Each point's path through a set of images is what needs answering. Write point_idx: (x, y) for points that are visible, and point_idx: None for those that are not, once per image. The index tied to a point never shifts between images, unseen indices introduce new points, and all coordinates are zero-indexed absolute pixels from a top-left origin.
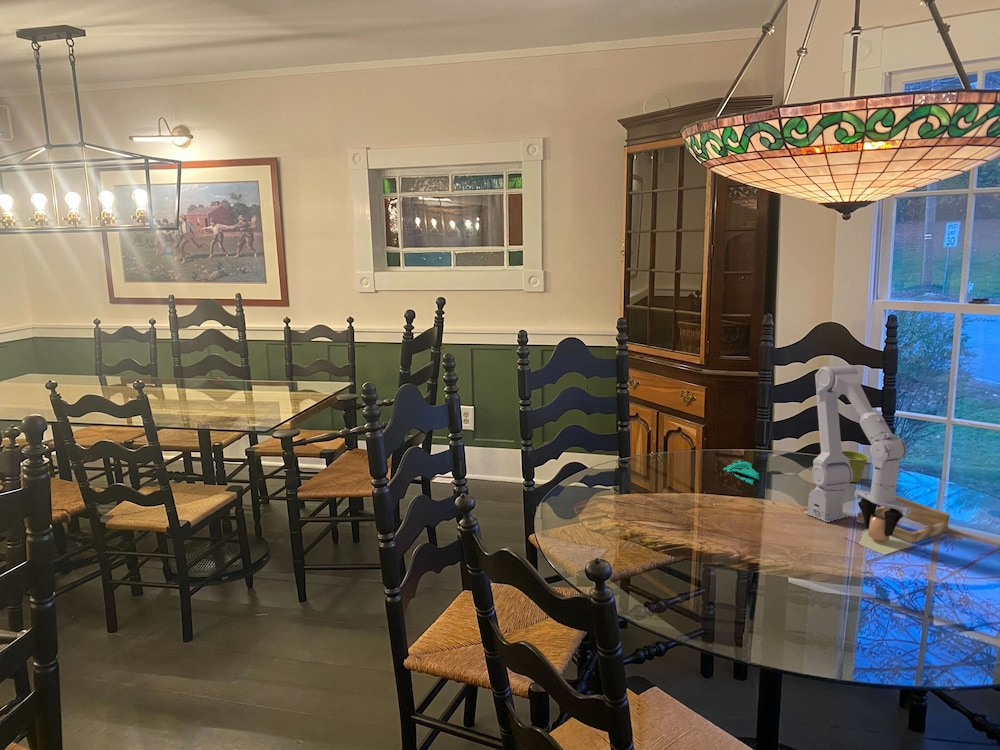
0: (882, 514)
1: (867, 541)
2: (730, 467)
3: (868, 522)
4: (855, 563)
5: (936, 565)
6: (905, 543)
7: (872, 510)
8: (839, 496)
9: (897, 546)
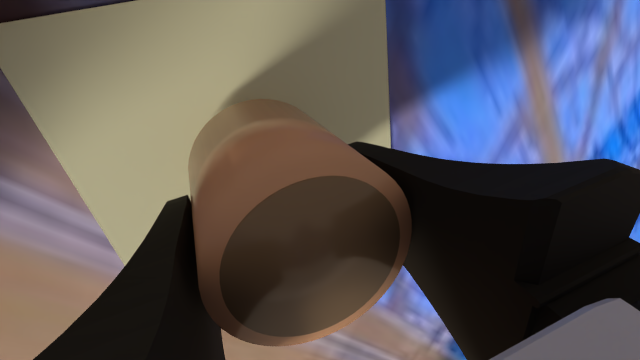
0: (259, 210)
1: None
2: None
3: None
4: (387, 344)
5: (547, 66)
6: (349, 1)
7: (197, 341)
8: None
9: (360, 98)
